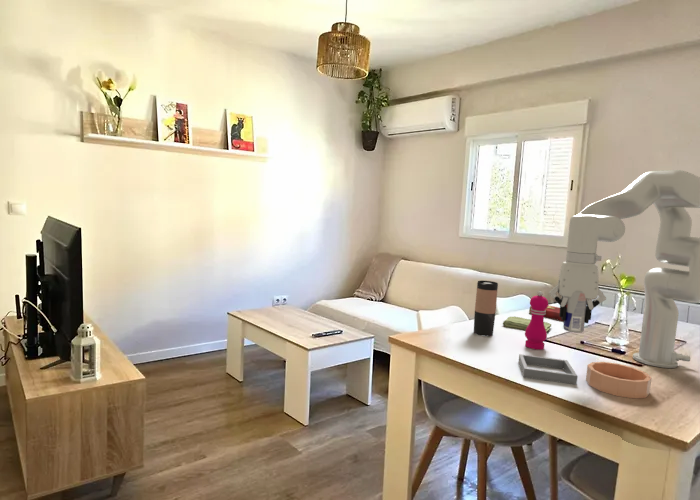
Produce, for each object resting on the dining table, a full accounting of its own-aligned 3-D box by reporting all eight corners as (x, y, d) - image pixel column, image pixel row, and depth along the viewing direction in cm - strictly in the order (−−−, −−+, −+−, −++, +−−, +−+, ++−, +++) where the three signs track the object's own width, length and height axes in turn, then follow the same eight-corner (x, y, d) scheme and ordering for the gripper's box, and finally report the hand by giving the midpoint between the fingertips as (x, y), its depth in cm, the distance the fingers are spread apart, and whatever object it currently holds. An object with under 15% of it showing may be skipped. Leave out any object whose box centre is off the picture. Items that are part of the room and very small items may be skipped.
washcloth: (547, 335, 182) (548, 327, 182) (501, 327, 190) (502, 319, 190) (551, 328, 193) (552, 321, 193) (507, 321, 202) (508, 314, 201)
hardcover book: (573, 325, 203) (574, 315, 202) (528, 314, 218) (529, 305, 218) (585, 321, 210) (586, 312, 210) (541, 311, 226) (542, 303, 226)
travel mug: (489, 331, 181) (494, 281, 179) (496, 336, 174) (501, 284, 172) (470, 330, 181) (474, 280, 179) (476, 335, 173) (480, 283, 171)
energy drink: (566, 326, 137) (570, 287, 136) (585, 330, 134) (590, 290, 133) (560, 330, 133) (564, 289, 132) (580, 334, 130) (585, 292, 129)
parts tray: (566, 368, 143) (567, 360, 142) (576, 384, 129) (577, 375, 129) (518, 361, 146) (519, 354, 146) (523, 377, 132) (524, 368, 132)
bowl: (637, 381, 135) (639, 366, 134) (657, 401, 120) (659, 385, 120) (581, 373, 138) (583, 359, 138) (594, 392, 124) (596, 376, 123)
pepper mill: (547, 351, 159) (553, 294, 157) (525, 348, 161) (531, 292, 159) (543, 345, 166) (548, 290, 164) (522, 342, 168) (527, 288, 166)
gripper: (610, 259, 133) (603, 321, 135) (546, 255, 137) (541, 314, 139) (617, 262, 126) (610, 327, 127) (550, 257, 130) (544, 320, 132)
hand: (574, 320), depth 133 cm, fingers closed on energy drink, 5 cm apart
